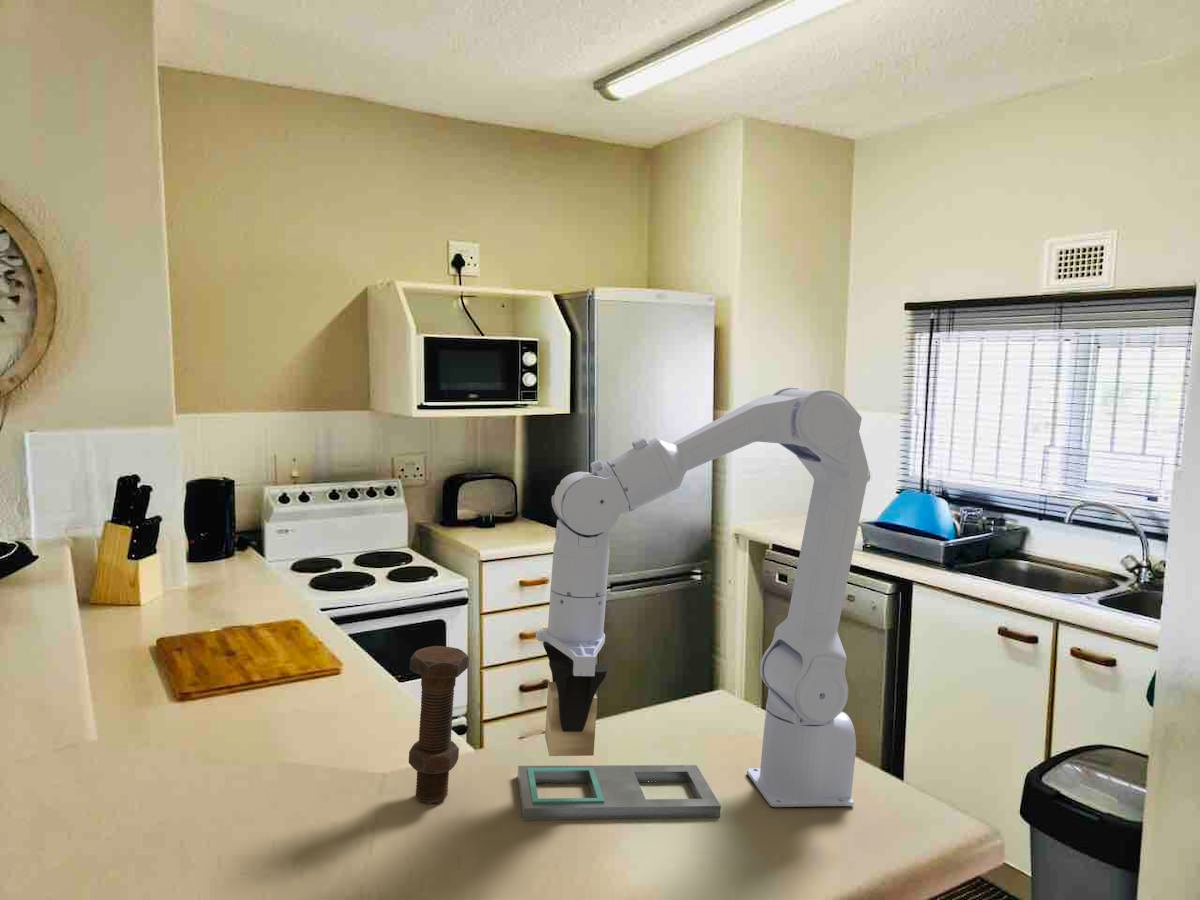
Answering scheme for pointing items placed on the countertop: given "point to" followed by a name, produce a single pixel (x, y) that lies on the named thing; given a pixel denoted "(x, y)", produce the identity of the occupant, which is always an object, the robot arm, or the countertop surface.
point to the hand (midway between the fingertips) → (569, 719)
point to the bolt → (435, 719)
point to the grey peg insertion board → (615, 792)
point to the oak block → (568, 741)
